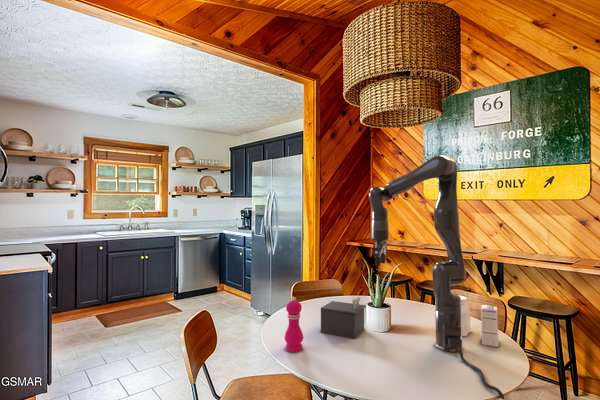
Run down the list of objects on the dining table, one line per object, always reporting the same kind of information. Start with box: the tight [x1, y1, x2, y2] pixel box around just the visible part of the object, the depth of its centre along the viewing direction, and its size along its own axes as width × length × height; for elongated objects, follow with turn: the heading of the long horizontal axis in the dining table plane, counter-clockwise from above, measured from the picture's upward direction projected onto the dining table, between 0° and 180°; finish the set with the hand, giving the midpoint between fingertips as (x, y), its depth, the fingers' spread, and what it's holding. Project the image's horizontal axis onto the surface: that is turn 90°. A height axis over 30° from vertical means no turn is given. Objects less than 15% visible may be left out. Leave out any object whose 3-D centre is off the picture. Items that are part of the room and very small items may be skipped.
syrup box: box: [480, 304, 499, 348], centre depth 139 cm, size 6×6×14 cm
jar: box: [457, 294, 472, 337], centre depth 152 cm, size 12×10×15 cm
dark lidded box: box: [320, 308, 365, 339], centre depth 154 cm, size 16×13×10 cm
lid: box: [320, 296, 367, 314], centre depth 154 cm, size 16×13×5 cm
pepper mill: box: [284, 296, 304, 353], centre depth 134 cm, size 7×7×20 cm
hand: (380, 264), depth 161 cm, fingers open, 8 cm apart
